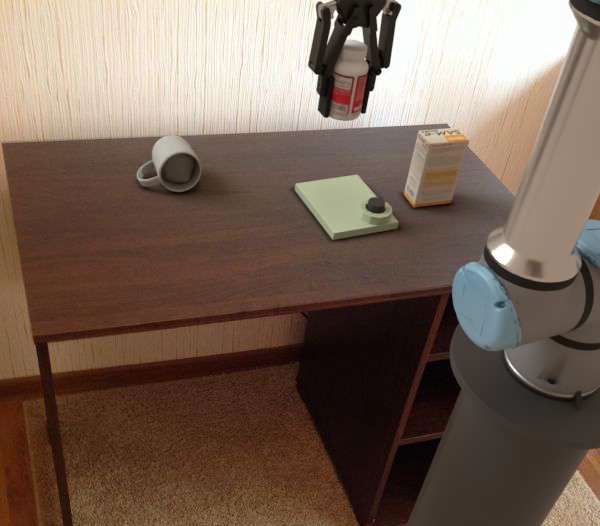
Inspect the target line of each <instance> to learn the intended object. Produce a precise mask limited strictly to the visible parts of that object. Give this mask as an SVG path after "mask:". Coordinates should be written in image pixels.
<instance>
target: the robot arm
mask: <svg viewBox="0 0 600 526" xmlns="http://www.w3.org/2000/svg"><path fill="white" fill-rule="evenodd" d="M568 7H569V9H570V10H571V13H572V15H573V17H574V19H575V21H576V25H575V29H574V32H573V34H572V37H571V40H570V43H569V46H568V48H567V51H566V54H565V57H564V60H563V62H562V64H561V65H562V66H561V68H560V71H559V74H558V77H557V79H556V82H555V85H554V88H553V90H552V93H551V95H550V100H549V102H548V104H547V107H546V111H545V113H544V116H543V119H542V121H541V125H540V127H539V130H538V133H537V135H536V139H535V142H534V144H533V147H532V150H531V151H530V155H529V157H528V161H527V163H526V167H525V170H524V172H523V175H522V177H521V181H520V184H519V187H518V189H517V192H516V195H515V197H514V198H515V199H514V201H513V203H512V206H511V209H510V212H509V214H508V217H507V220H506V223H505V224H504V225H501V226H498V227H497V228H494V230H492V232H490V234H489V235H488V237H487V239H486V242H485V245H484V248H483V251H482V254H481V257H480V259H479V260H478V261H471V262H468V263H466V264H465V265H463V266H461V267H460V268H459V269H458V270H457V271H456V273H455V275H454V277H453V282H452V286H451V287H452V288H451V296H452V297H451V298H452V305H453V309H454V312H455V314H456V315H455V316H456V318H457V321H458V324H459V323H460V325H461V327H462V329H463V330H464V332H465V333H466V335H467V336H468V337H469V338H470V340H471V341H472V342H474V343H475V344H476V345H477V346H479V347H481V348H482V349H485V350H488V351H500V350H502V359H503V362H504V365H505V367H506V369H507V370H508V372H509V373H510V375H511V376H512V377H513V378H514V379H515V380H516V381H517V382H518V383H519V384H521V385H522V386H523V387H525V388H526V389H528V390H530V391H531V392H533V393H535V394H537V395H540V396H542V397H545V398H548V399H552V400H557V401H565V402H571V401H576V407H583V405H582V400H584V399H586V398H589V397H591V396H592V395H593V394H595V393H596V392H597V390H598V389H599V387H600V220H597V219H589V218H590V216H591V214H592V211H593V209H594V207H595V205H596V202H597V200H598V198H599V196H600V0H568ZM401 10H402V4H400V3H399V2H398V1H397V0H330V1H327V2H323V1H322V0H320V1H319V0H318V1H317V2H316V3H315V13H316V21H315V26H314V31H313V36H312V41H311V42H312V43H311V47H310V52H309V57H308V62H307V67H308V68H309V69H310V70H311V71H312V72H313V73H314V75H316V76H317V81H316V88H315V90H316V94H317V95H318V96H319V97H318V103H317V111H318V112H319V114H320V115H321V116H322V117H323V118H324V119H328V118H330V117H329V113H330V107H331V100H332V94H333V87H334V81H335V78H334V77H333V76H332V75H331V74H332V71H333V69H334V67H335V64H336V62H337V60H338V57H339V55H340V53H341V50H342V48H343V46H344V43H345V41H346V40H347V38H348V37H350V36H351V34H352V32H353V29H356V28H361V30H362V41H363V43H364V44H366V46H367V55H366V57H365V60H366V62H367V63H368V74H367V80H366V86H365V91H364V97H363V103H362V108H361V113H360V115H364V114H366V113H367V109H368V103H369V99H370V92H373V91H374V89H375V85H376V82H377V77H378V76H380V75H381V74H382V73H383V69H389V68H390V66H391V60H392V55H393V54H392V53H393V46H394V39H395V32H396V26H397V25H396V24H397V19H398V17H399V15H400V13H401ZM335 11H336V13H337V14H336V17H335V16H334V13H335ZM381 12H382V14H381V19H380V27H378V18H377V17H378V16H379V15H380V13H381ZM334 17H335V20H334V23H333V30H332V32H331V26H332V20H333V19H334ZM378 28H379V35H377V32H378ZM330 32H331V35H330Z"/></svg>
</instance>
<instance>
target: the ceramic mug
mask: <svg viewBox="0 0 600 526" xmlns="http://www.w3.org/2000/svg"><path fill="white" fill-rule="evenodd" d="M153 169H155V171H156V174H157V175H156V176H154V177H150V178H145V177H144V176H145V175H146V174H147V173H148V172H150V171H152V170H153ZM201 176H202V164H201V161H200V159H199V157H198V156H197V155H196V153H195V151H194V150H193V148H192V146H191V145H190V143H189V142H188V141H187V140H186V139H184V138H183V137H182V136H180V135H176V134H167V135H163V136H162V137H160V138H158V139H157V141H156V142H155V143H154V144H153V147H152V151H151V160H149V161H147V162H146V163H144V164H142V165H141V166H140V168H138V170H137V172H136V179H137V180H138V182H139V184H140V185H141V187H143V188H152V187H156V186H159V185H162V186H163V187H164V188H165V189H166V190H168V191H171V192H174V193H182V192H186V191H189V190H191V189H193V188H194V187H195V186H196V185H197V184H198V182H199V181H200V179H201ZM144 178H145V179H144Z"/></svg>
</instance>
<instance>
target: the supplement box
mask: <svg viewBox="0 0 600 526" xmlns="http://www.w3.org/2000/svg"><path fill="white" fill-rule="evenodd" d="M469 144H470V138H468V136H467V135H466V134H465V133H464V132H463V131H462V130H461V129H460V128H459V127H447V128H436V129H435V128H434V129H424V130H423V129H422V130H418V131H417V136H416V141H415V145H414V149H413V153H412V158H411V161H410V165H409V170H408V175H407V178H406V182H405V186H404V191H403V196H404V197H405V198H406V200H408V202H409V204H411V206H412V207H413V208H422V207H429V206H436V205H446V204H451V203H452V201H453V198H454V195H455V191H456V188H457V184H458V182H459V179H460V175H461V171H462V168H463V164H464V161H465V158H466V154H467V151H468V148H469Z"/></svg>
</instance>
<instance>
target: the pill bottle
mask: <svg viewBox="0 0 600 526" xmlns="http://www.w3.org/2000/svg"><path fill="white" fill-rule="evenodd" d="M366 55H367V46H366V44H364V41H363V42H362V41H361V40H357V39H351V38H350V39H349V38H348V39H346V41H345V43H344V46H343V48H342V50H341V53H340V55H339V57H338V60H337V62H336V64H335V67H334V69H333V71H332V74H331V75H332V76H333V77H334V78H335V81H334V87H333V94H332V100H331V107H330V113H329V118H331V119H333V120H336V121H342V122H350V121H351V122H352V121H355V120H357V119H359V117H360V116H361V108H362V103H363V97H364V91H365V86H366V80H367V74H368V63H367V62H366V59H365V57H366Z"/></svg>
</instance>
